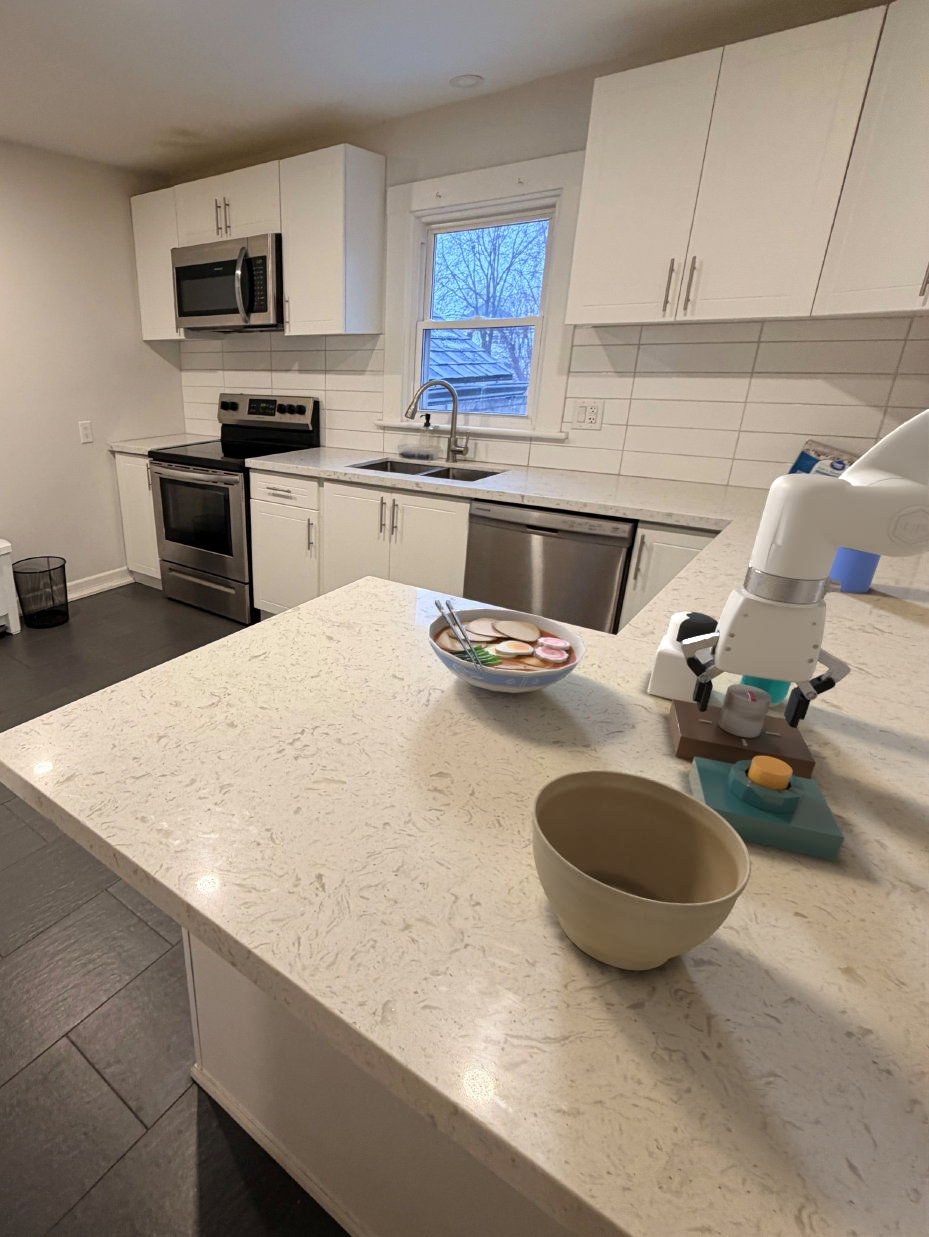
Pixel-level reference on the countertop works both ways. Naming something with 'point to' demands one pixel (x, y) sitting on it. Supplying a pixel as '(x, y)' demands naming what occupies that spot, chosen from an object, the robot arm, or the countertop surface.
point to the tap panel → (735, 739)
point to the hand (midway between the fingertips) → (744, 714)
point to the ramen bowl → (504, 648)
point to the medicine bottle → (679, 657)
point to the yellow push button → (770, 772)
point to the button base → (768, 808)
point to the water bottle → (854, 569)
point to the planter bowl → (634, 865)
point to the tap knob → (744, 710)
